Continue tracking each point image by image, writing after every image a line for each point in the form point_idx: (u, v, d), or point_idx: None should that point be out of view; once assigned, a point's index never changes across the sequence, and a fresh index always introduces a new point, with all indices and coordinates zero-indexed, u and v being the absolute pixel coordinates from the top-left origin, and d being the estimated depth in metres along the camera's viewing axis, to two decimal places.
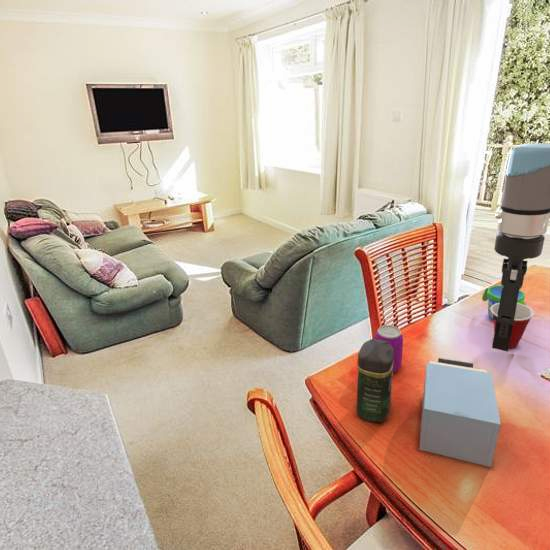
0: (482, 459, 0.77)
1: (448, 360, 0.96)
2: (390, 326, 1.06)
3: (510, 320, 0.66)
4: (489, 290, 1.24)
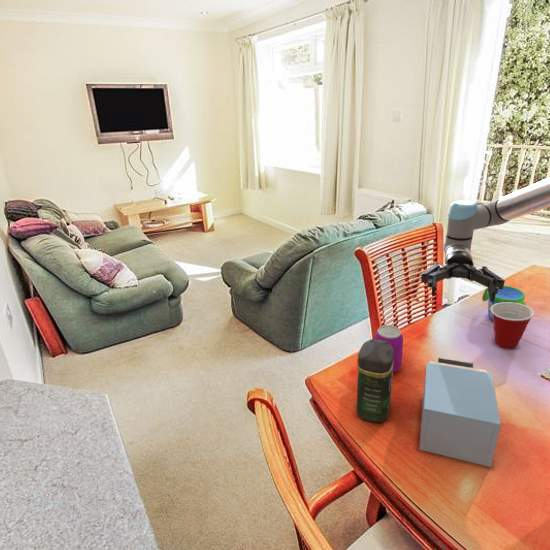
0: (482, 459, 0.77)
1: (448, 360, 0.96)
2: (390, 326, 1.06)
3: None
4: None
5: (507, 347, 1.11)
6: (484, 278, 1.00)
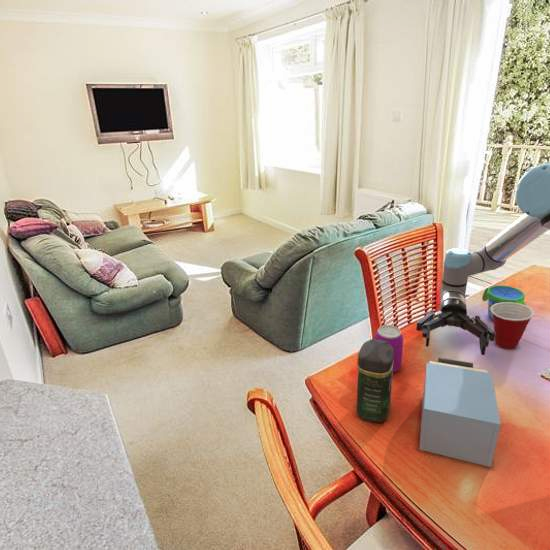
0: (482, 459, 0.77)
1: (448, 360, 0.96)
2: (390, 326, 1.06)
3: (417, 323, 1.10)
4: (489, 290, 1.24)
5: (507, 347, 1.11)
6: (476, 329, 1.05)
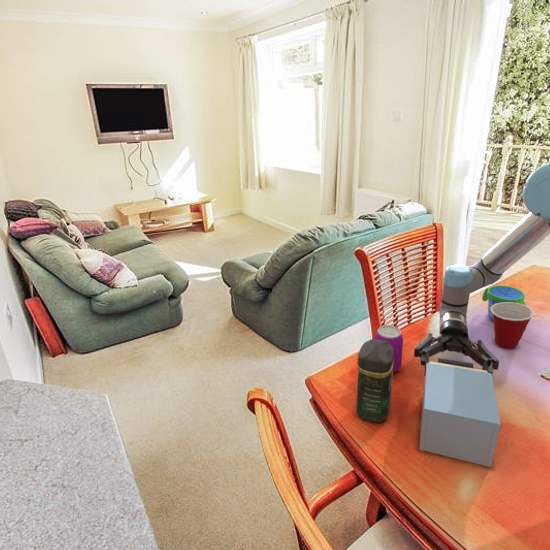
0: (482, 459, 0.77)
1: (448, 360, 0.96)
2: (390, 326, 1.06)
3: (415, 348, 1.01)
4: (489, 290, 1.24)
5: (507, 347, 1.11)
6: (478, 356, 0.96)
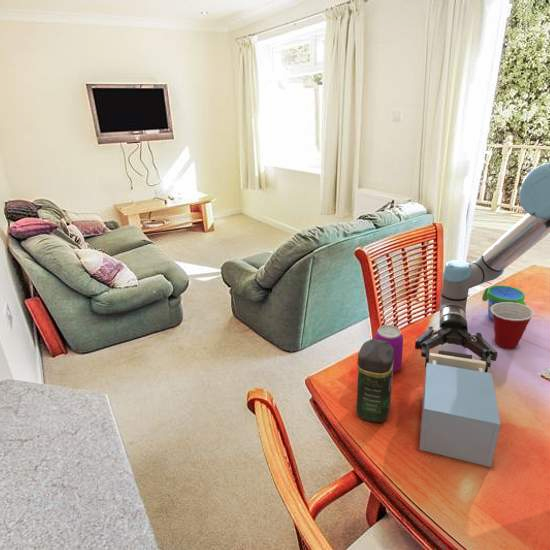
0: (482, 459, 0.77)
1: (448, 352, 0.99)
2: (390, 326, 1.06)
3: None
4: (489, 290, 1.24)
5: (507, 347, 1.11)
6: (477, 348, 0.99)
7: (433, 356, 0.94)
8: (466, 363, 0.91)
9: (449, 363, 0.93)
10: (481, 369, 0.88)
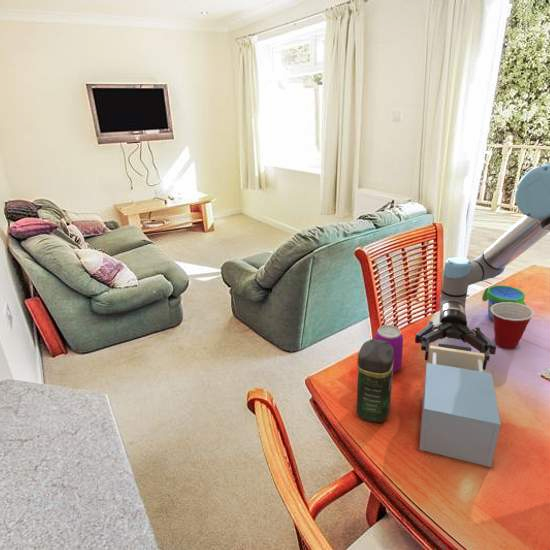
0: (482, 459, 0.77)
1: (448, 345, 1.01)
2: (390, 326, 1.06)
3: None
4: (489, 290, 1.24)
5: (507, 347, 1.11)
6: (476, 342, 1.02)
7: (433, 349, 0.97)
8: (465, 355, 0.94)
9: (449, 355, 0.96)
10: (480, 361, 0.91)
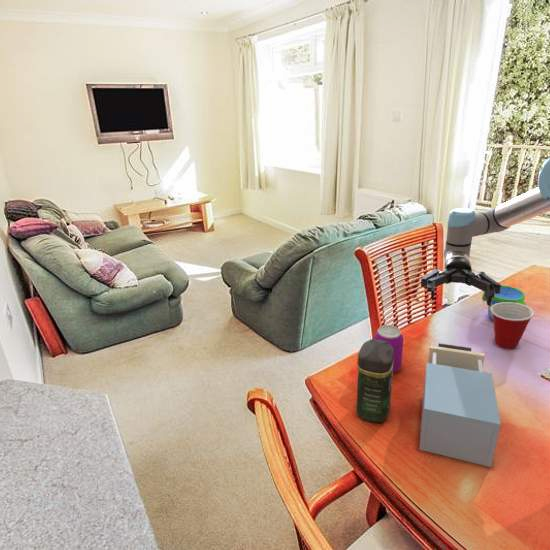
0: (482, 459, 0.77)
1: (448, 345, 1.01)
2: (390, 326, 1.06)
3: None
4: None
5: (507, 347, 1.11)
6: (481, 283, 1.04)
7: (433, 349, 0.97)
8: (465, 355, 0.94)
9: (449, 355, 0.96)
10: (480, 361, 0.91)
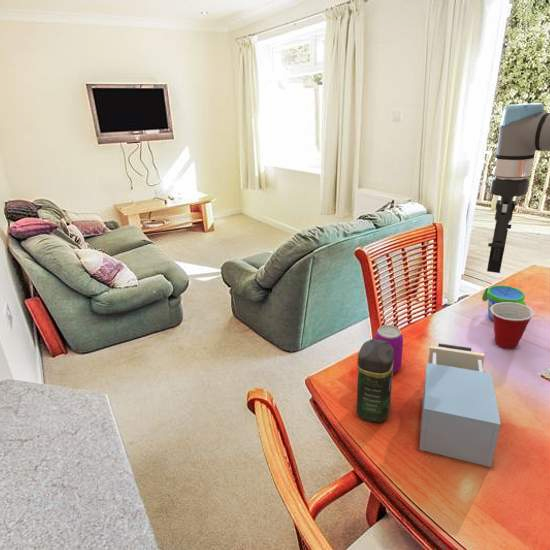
0: (482, 459, 0.77)
1: (448, 345, 1.01)
2: (390, 326, 1.06)
3: (501, 244, 0.84)
4: (489, 290, 1.24)
5: (507, 347, 1.11)
6: None
7: (433, 349, 0.97)
8: (465, 355, 0.94)
9: (449, 355, 0.96)
10: (480, 361, 0.91)
